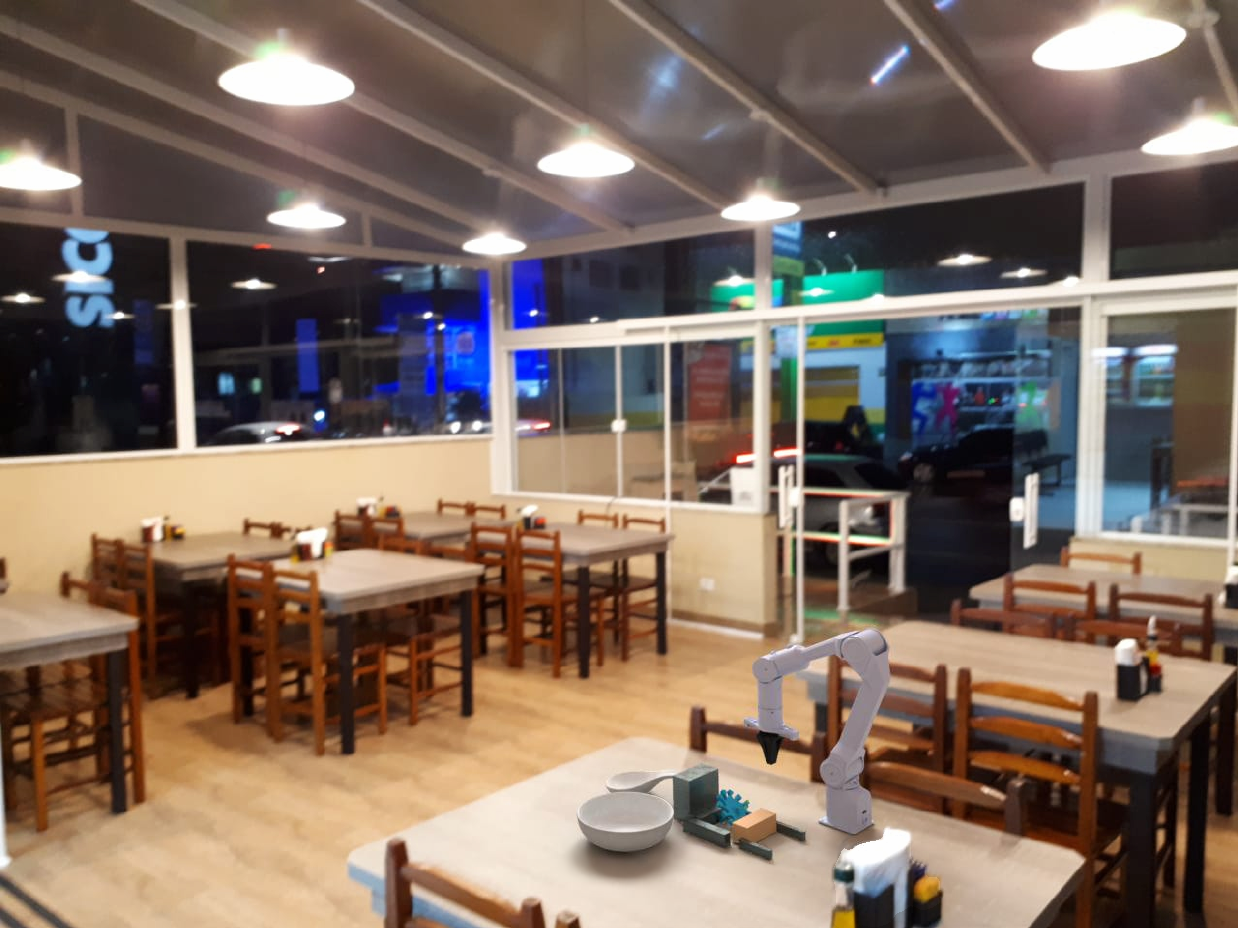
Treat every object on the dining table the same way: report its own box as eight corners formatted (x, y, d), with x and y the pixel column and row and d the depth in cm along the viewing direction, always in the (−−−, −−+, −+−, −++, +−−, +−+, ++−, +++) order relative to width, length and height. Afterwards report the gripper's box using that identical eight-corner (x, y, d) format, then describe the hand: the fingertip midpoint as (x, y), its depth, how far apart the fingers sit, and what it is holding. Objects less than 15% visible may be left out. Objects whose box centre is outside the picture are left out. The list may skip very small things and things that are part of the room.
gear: (738, 832, 204) (712, 791, 209) (721, 847, 207) (696, 806, 212) (764, 821, 213) (739, 782, 218) (747, 835, 215) (723, 796, 220)
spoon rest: (598, 801, 227) (597, 772, 227) (616, 783, 238) (616, 755, 238) (693, 815, 218) (692, 784, 218) (707, 795, 229) (707, 765, 229)
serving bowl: (667, 867, 194) (666, 834, 193) (567, 860, 198) (566, 828, 197) (680, 823, 214) (680, 793, 214) (590, 817, 218) (589, 788, 218)
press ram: (776, 831, 208) (776, 813, 207) (747, 846, 201) (747, 828, 201) (761, 825, 211) (761, 807, 210) (732, 840, 204) (732, 822, 203)
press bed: (805, 839, 204) (804, 794, 203) (762, 864, 194) (761, 816, 193) (706, 803, 224) (705, 761, 223) (663, 823, 214) (661, 779, 213)
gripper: (806, 708, 219) (807, 765, 220) (756, 695, 230) (757, 750, 231) (787, 715, 215) (788, 774, 215) (737, 702, 225) (738, 758, 226)
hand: (771, 762), depth 223 cm, fingers closed
